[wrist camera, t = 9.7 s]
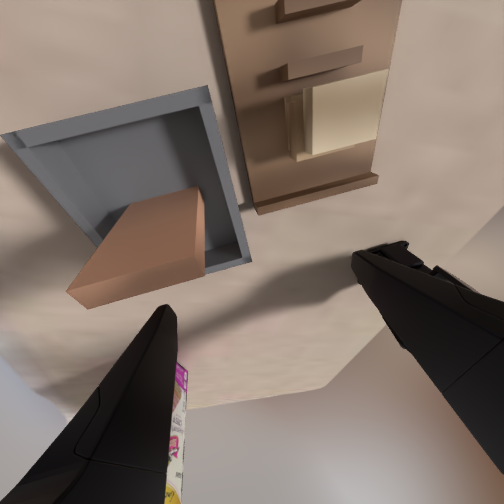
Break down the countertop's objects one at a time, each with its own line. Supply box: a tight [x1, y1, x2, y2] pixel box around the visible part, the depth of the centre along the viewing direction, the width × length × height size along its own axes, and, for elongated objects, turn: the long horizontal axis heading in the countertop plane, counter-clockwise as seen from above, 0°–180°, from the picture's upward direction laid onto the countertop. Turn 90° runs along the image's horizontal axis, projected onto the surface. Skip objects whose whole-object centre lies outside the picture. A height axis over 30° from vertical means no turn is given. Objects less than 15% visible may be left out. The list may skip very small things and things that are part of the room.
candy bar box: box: [165, 363, 188, 504], centre depth 28 cm, size 11×5×16 cm, turn 14°
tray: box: [0, 85, 252, 275], centre depth 17 cm, size 14×12×4 cm
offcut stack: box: [284, 69, 389, 162], centre depth 14 cm, size 4×5×4 cm
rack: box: [213, 0, 402, 216], centre depth 15 cm, size 16×12×2 cm
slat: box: [66, 185, 205, 309], centre depth 13 cm, size 1×6×10 cm, turn 102°
